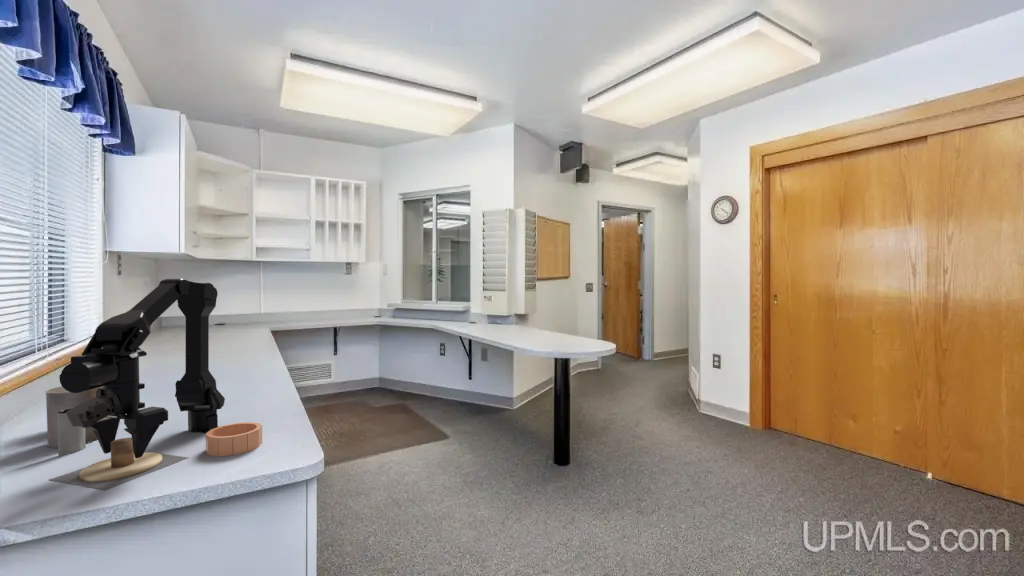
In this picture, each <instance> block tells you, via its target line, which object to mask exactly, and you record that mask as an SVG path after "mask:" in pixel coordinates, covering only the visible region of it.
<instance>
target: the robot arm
mask: <svg viewBox="0 0 1024 576" xmlns="http://www.w3.org/2000/svg"><path fill="white" fill-rule="evenodd" d="M217 299H218V290H217V287H215V286H214V285H213V284H212V283H211V282H195V281H190V280H188V279H187V280H186V279H183V278H165V279H162V280H161V281H159V284H158V285H157V286H156V287H154V289H153V290H151V291H150V292H149V293H148V294H147V295H145V296H144V297H143V298H142V299H141V300H139V301H138V303H136V304H135V305H134V306H133V307H132V308H131V309H129V310H127V311H125V312H123V313H120V314H117V315H114V316H112V317H110V318H108V319H107V320H105V321H103V322H101V323H100V324H99V325H98V326H97V327H96V328H95V330H94V333H93V335H92V337H91V338H90V340H89V341H88V343H87V345H86V347H85V348H84V349H83V351H82V353H81V355H74V356H70V363H68V364H67V365H65V367H63V369H62V370H61V372H60V374H59V377H58V378H59V383H60V385H61V387H63V388H64V389H65V390H67V391H69V392H71V393H79V392H83V391H87V390H91V389H94V388H98V387H102V386H103V387H102V388H98V390H97V391H96V397H95V398H92V399H90V400H87V401H85V402H83V403H81V404H79V405H78V406H76V407H74V408H72V409H70V410H68V411H67V412H66V414H67V416H68V418H69V420H70V422H71V424H72V426H74V427H76V426H80V427H82V428H87V427H88V428H90V429H92V430H93V432H94V433H95V435H96V437H97V439H96V440H98V444H99V446H100V448H101V450H102V453H103V454H106V455H107V454H111V442H112V441H114V440H116V437H117V433H118V429H119V426H120V421H121V420H123V424H124V426H125V427H126V428H123V430H124V432H127V433H128V434H130V435H131V438H132V443H133V450H134V455H135V458H140V457H142V456H143V454H144V452H145V451H146V450H147V448H148V446H149V444H150V442H151V440H152V439H153V437H154V435H155V434H156V432H157V430H158V429H159V427H160V426H162V425H163V424H164V422H167V421H169V410H167V409H166V408H165V407H161V406H149V407H146V404H145V403H146V402H144V401H143V402H142V401H140V400H141V399H140V397H141V395H140V390H143V389H145V386H146V385H145V383H142V382H141V383H140V357H145V356H147V354H148V353H147V352H146V351H145V350H144V349H142V348H141V346H142V345H143V343H144V342H145V341H146V340H147V338H149V337H148V336H149V335H150V334H151V326H152V324H153V323H154V322H156V320H157V319H159V318H160V317H161V316H162V314H164V313H165V312H166V311H167V310H168V309H169V308H170V307H171V306H172V305H173V304H175V302H177V307H178V309H179V310H180V312H181V313H182V315H183V316H184V317H185V352H184V353H185V362H184V363H185V371H184V372H185V373H183V375H182V377H181V379H180V380H176V382H175V394H174V397H175V398H176V402H177V405H178V407H179V411H180V412H187V432H190V433H200V434H206V433H207V432H208V431H210V430H211V429H214V428H217V427H219V425H218V410H221V409H222V408H223V407H224V405H225V399H226V398H225V396H223V394H222V393H221V391H219V390H218V389H217V380H216V378H215V377H214V375H212V373H211V371H210V369H209V366H210V364H209V354H210V352H209V351H210V350H209V349H210V348H209V346H210V345H209V343H210V342H209V338H210V337H209V332H210V331H209V330H210V329H209V328H210V326H209V325H210V324H209V320H210V319H209V318H210V315H211V314H212V312H213V311H214V309H215V308H216V307H217Z"/></svg>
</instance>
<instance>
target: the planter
mask: <svg viewBox="0 0 1024 576" xmlns="http://www.w3.org/2000/svg"><path fill="white" fill-rule="evenodd" d="M71 409H72V408H71ZM68 410H70V409H66V410H62V411H59V412H58V413H57V419H58V448H57V454H58V455H57V457H61V456H64V455H68V454H73V453H77V452H81V451H83V450H86V444H87V443H85V428H82V427H80V426H76V427H74V426H72V424H71V422H70V420H69V418H68V416H67V414H66V412H67V411H68Z"/></svg>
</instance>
